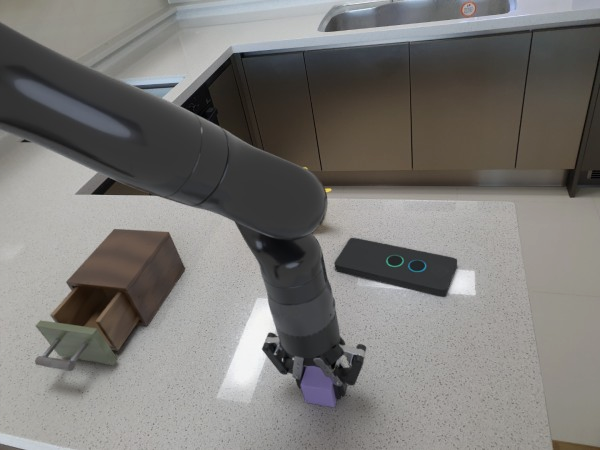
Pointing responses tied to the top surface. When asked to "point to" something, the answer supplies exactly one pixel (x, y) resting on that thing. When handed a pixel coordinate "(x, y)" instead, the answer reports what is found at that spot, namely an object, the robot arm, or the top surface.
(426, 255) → the smart home device
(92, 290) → the drawer
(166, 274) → the cabinet
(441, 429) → the top surface
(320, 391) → the lavender cube
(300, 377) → the robot arm
